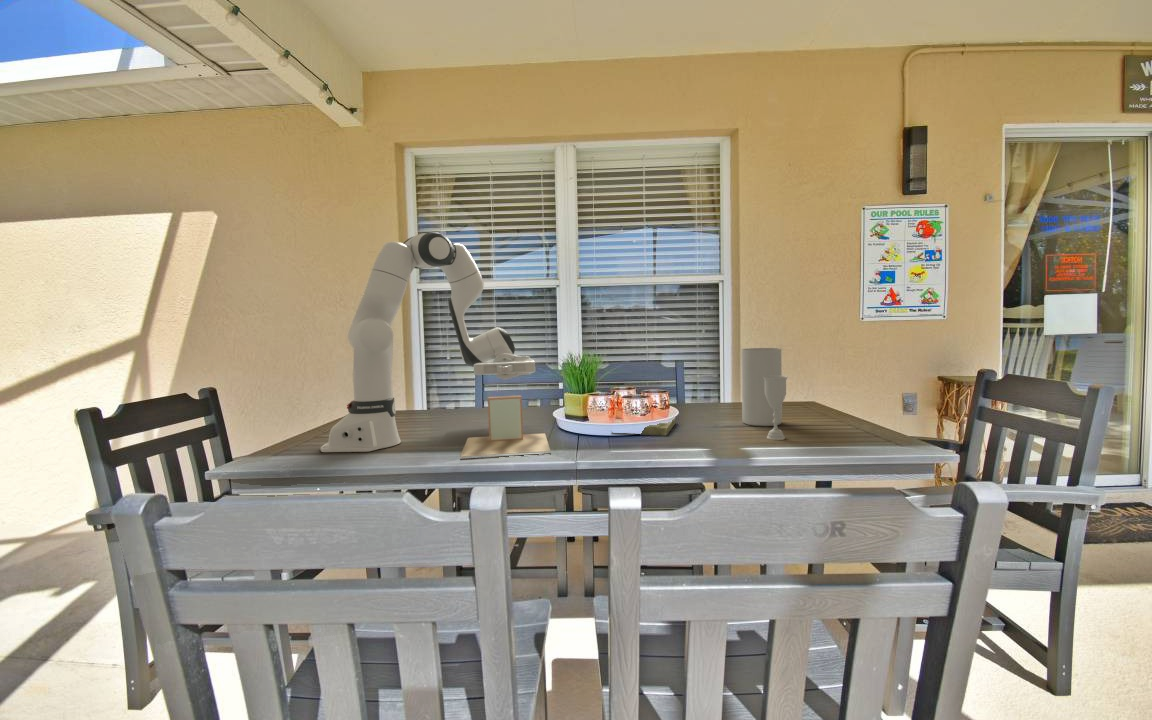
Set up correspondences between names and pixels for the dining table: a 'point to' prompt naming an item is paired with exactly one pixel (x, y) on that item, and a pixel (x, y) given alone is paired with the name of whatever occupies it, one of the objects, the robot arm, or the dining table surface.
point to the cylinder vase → (759, 385)
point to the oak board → (504, 446)
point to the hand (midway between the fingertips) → (504, 369)
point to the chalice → (775, 400)
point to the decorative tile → (658, 428)
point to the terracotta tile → (505, 418)
